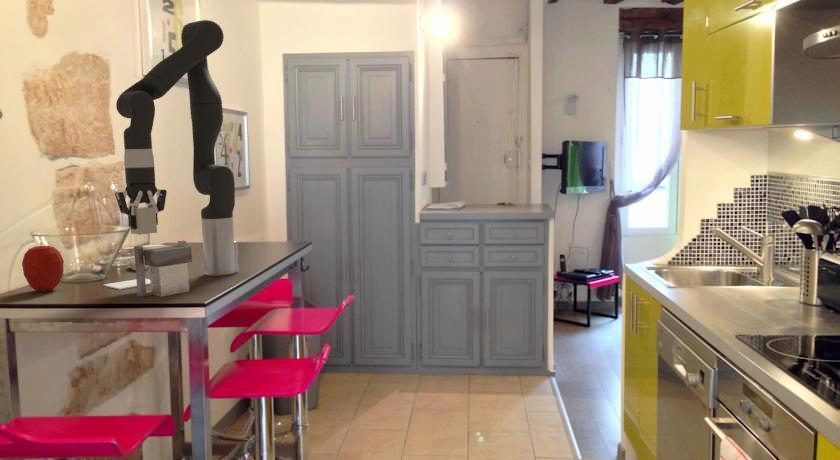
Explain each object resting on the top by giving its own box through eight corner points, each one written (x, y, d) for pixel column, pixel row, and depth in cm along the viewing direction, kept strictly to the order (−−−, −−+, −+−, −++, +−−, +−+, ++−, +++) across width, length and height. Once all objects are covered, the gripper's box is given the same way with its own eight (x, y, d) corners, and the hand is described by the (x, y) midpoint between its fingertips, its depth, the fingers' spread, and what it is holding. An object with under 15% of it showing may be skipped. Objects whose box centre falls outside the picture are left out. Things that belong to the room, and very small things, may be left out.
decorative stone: (130, 273, 221) (130, 263, 220) (128, 267, 234) (127, 256, 234) (151, 272, 223) (150, 261, 223) (147, 265, 237) (147, 255, 237)
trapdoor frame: (199, 289, 190) (196, 242, 188) (150, 298, 179) (146, 248, 178) (184, 286, 195) (181, 240, 193) (136, 295, 184) (132, 246, 183)
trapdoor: (193, 261, 187) (192, 246, 187) (155, 267, 179) (154, 251, 179) (158, 256, 199) (157, 242, 199) (121, 261, 192) (120, 246, 191)
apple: (74, 288, 197) (70, 239, 195) (43, 295, 188) (39, 243, 186) (46, 286, 201) (42, 238, 199) (15, 293, 191) (10, 243, 190)
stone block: (157, 232, 193) (155, 207, 192) (139, 234, 189) (137, 208, 188) (148, 231, 196) (146, 206, 195) (130, 233, 193) (129, 208, 192)
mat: (143, 279, 208) (143, 278, 208) (160, 283, 201) (160, 281, 201) (103, 285, 199) (103, 284, 199) (119, 289, 193) (119, 288, 193)
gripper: (120, 166, 183) (124, 231, 185) (171, 165, 194) (174, 226, 195) (107, 167, 188) (111, 230, 190) (157, 165, 199) (161, 225, 200)
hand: (143, 227), depth 193 cm, fingers closed on stone block, 5 cm apart
